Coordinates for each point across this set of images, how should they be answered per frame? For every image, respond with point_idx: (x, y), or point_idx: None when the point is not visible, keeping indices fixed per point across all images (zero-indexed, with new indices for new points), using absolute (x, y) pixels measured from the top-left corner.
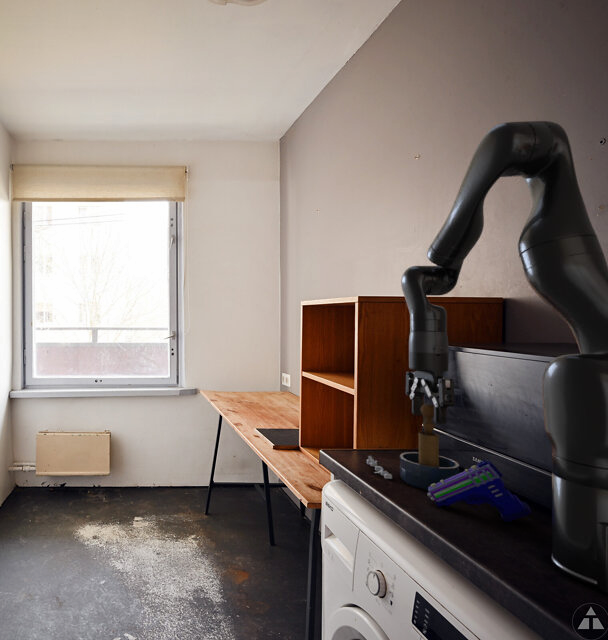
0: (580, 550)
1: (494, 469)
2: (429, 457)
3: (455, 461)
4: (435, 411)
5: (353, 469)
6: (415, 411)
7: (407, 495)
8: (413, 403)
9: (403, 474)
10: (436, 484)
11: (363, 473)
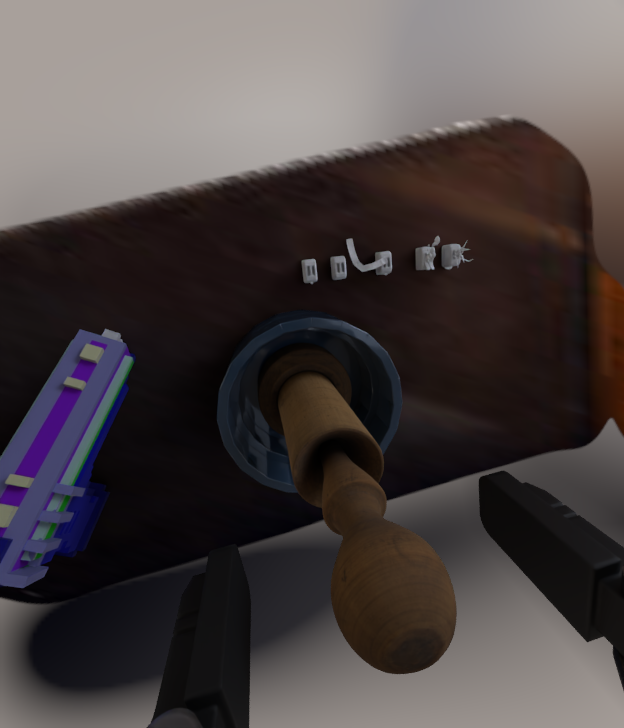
0: None
1: None
2: (282, 413)
3: None
4: (204, 641)
5: (377, 171)
6: (498, 499)
7: (165, 285)
8: (559, 538)
9: (288, 313)
10: (99, 365)
11: (342, 198)
